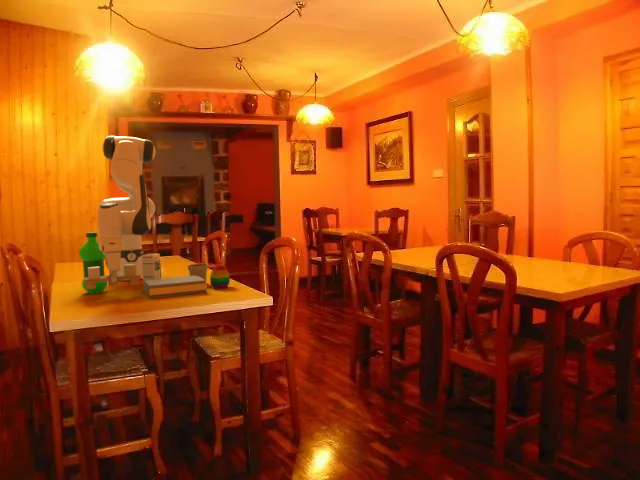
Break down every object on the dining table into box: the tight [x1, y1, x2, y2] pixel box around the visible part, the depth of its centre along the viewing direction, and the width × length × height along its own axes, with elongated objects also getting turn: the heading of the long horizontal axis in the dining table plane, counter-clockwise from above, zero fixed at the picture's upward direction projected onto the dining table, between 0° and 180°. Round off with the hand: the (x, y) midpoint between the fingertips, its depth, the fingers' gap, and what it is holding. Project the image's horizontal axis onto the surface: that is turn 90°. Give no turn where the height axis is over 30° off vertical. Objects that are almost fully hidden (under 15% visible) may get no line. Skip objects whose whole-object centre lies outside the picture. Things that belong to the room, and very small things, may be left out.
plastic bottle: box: [78, 231, 108, 295], centre depth 224 cm, size 10×10×25 cm
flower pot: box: [186, 263, 209, 281], centre depth 238 cm, size 9×9×9 cm
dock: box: [142, 275, 208, 299], centre depth 220 cm, size 17×22×5 cm
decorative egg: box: [209, 263, 231, 290], centre depth 228 cm, size 8×8×10 cm
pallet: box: [83, 273, 140, 289], centre depth 210 cm, size 6×20×4 cm, turn 116°
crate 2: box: [124, 264, 136, 276], centre depth 212 cm, size 4×4×4 cm
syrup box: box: [142, 253, 162, 285], centre depth 233 cm, size 6×6×14 cm
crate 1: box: [88, 266, 100, 279], centre depth 207 cm, size 4×4×4 cm
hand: (113, 280), depth 210 cm, fingers closed on pallet, 6 cm apart
